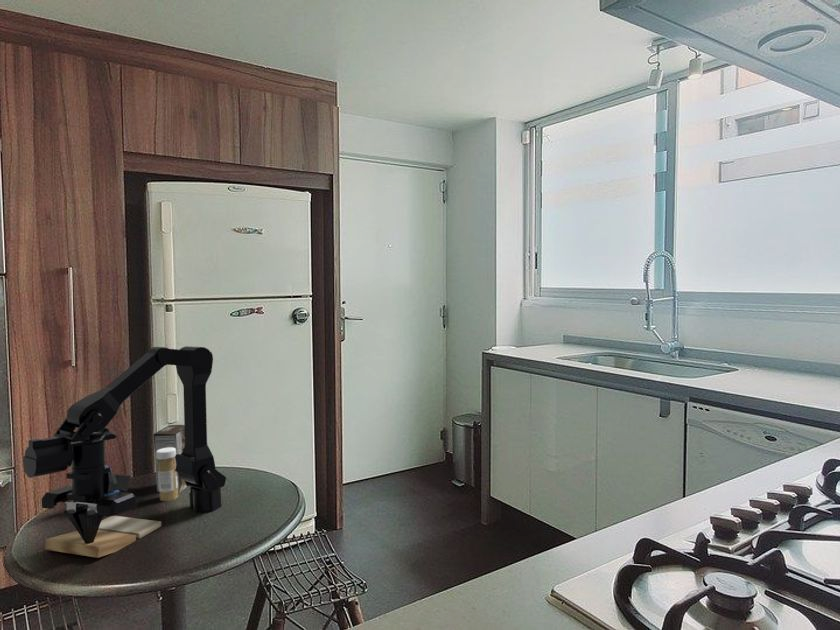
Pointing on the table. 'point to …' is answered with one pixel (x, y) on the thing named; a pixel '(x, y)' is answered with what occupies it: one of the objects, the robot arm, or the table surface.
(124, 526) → the ash board
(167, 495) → the sprinkles bottle
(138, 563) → the table surface
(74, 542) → the oak plank
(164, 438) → the coffee box
